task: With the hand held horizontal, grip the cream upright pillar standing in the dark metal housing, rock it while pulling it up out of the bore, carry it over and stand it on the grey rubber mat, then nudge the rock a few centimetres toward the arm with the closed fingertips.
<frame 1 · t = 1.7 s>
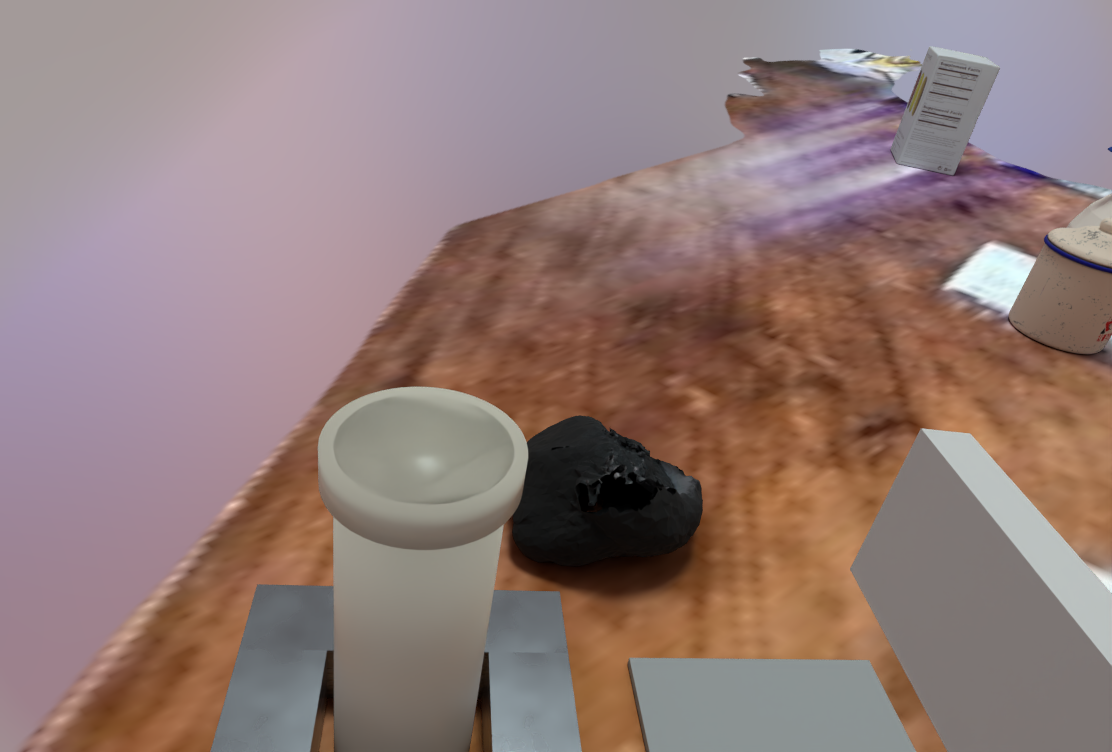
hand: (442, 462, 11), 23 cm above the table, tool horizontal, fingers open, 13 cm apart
rock: (585, 524, 44), on the table
supplement box: (920, 163, 129), on the table
teacup with lid: (1050, 328, 78), on the table
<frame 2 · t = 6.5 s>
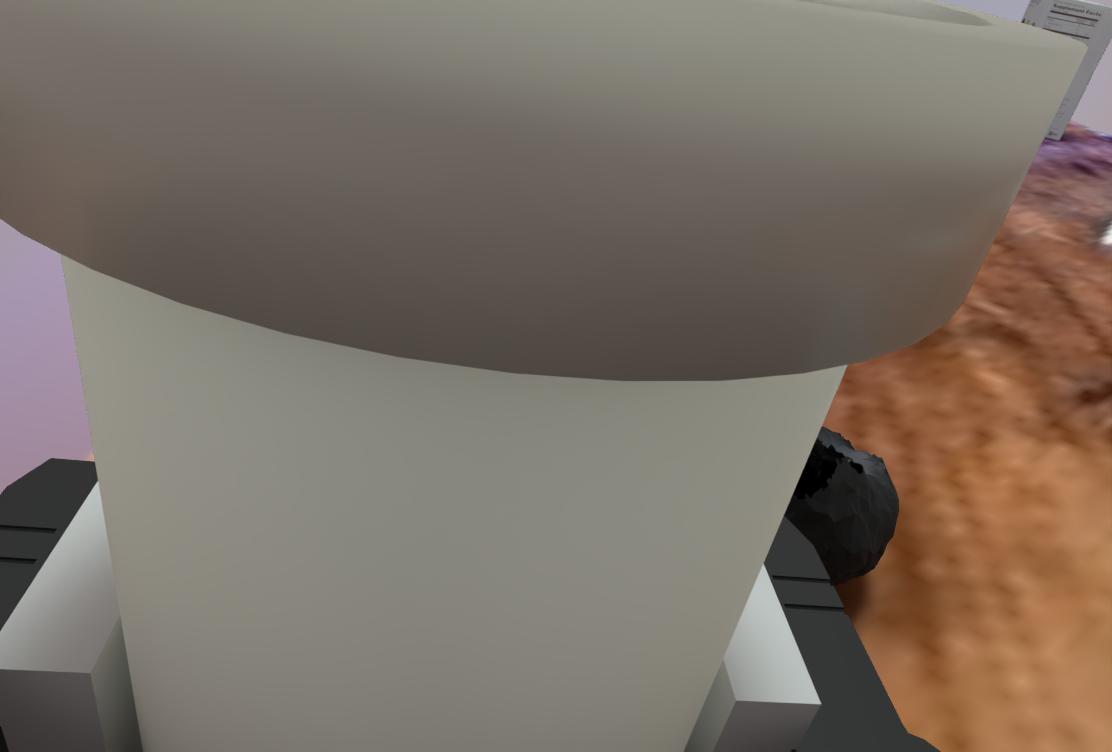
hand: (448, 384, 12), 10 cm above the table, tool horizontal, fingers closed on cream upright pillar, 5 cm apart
rock: (675, 527, 26), on the table
supplement box: (1017, 129, 112), on the table
when the fingers open (11 cm above the table, at t = 12.4 s): cream upright pillar drops 1 cm, resting on mat.
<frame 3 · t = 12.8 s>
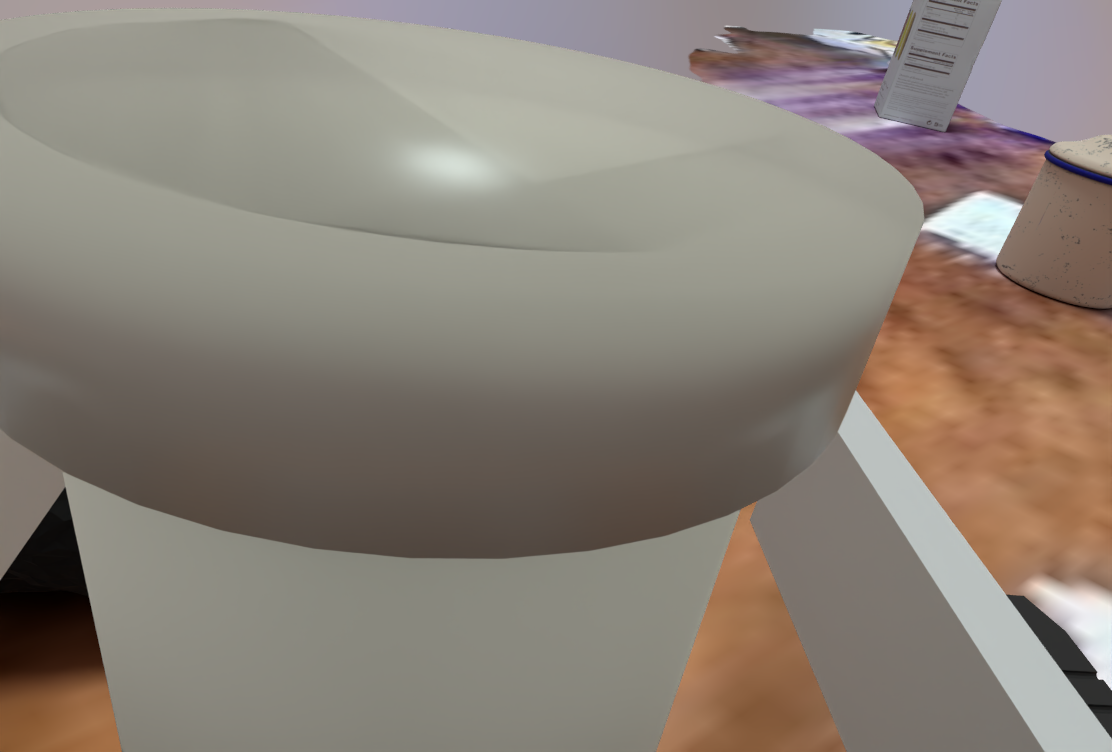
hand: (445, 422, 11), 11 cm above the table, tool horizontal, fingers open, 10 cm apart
rock: (87, 525, 23), on the table
supplement box: (907, 120, 111), on the table
teacup with lid: (1051, 280, 59), on the table
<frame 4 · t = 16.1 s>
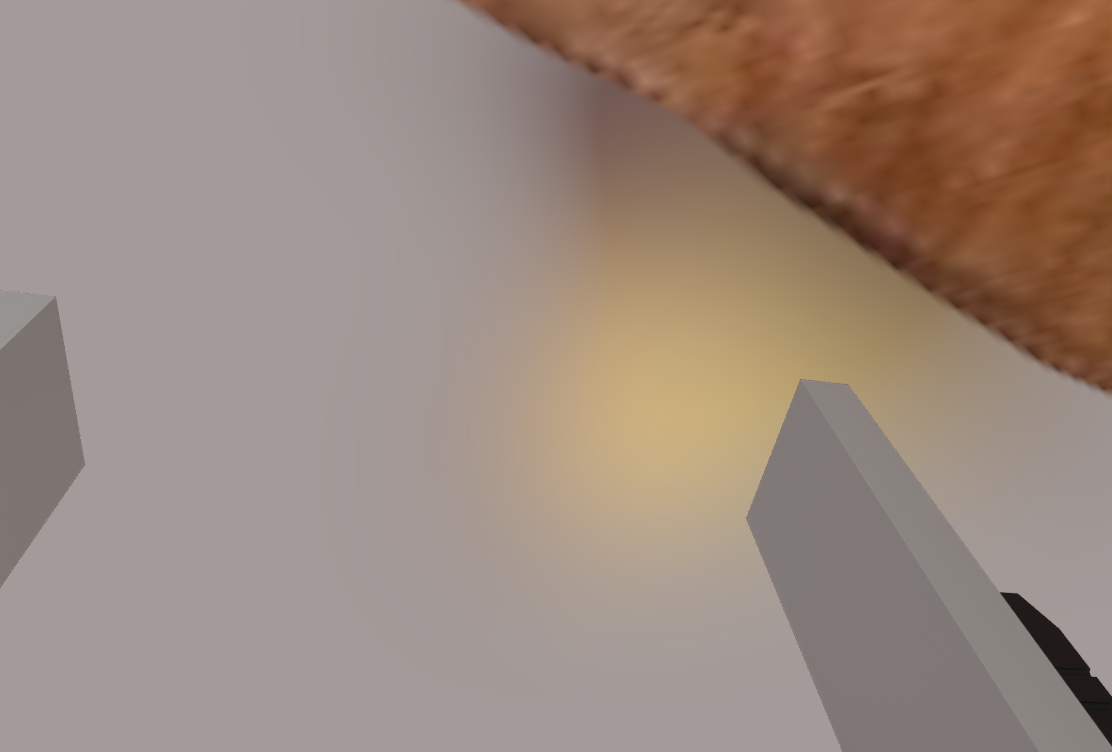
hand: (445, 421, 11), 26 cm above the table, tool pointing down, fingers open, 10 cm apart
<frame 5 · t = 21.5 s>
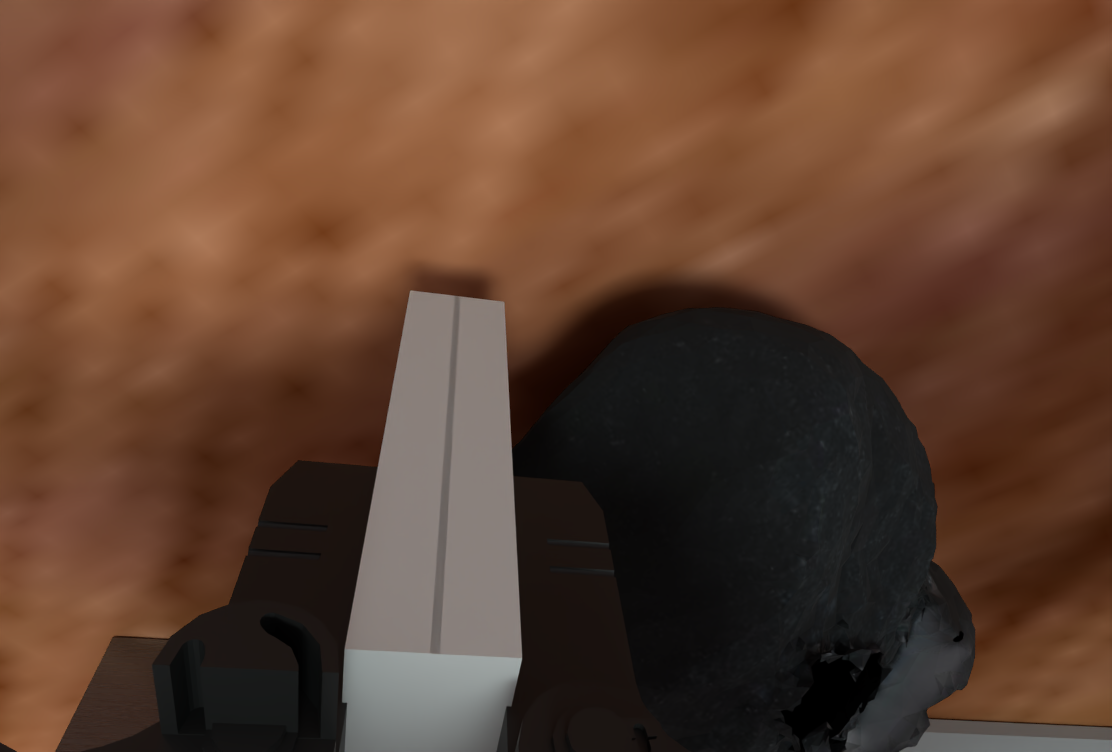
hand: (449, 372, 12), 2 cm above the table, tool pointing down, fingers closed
rock: (653, 503, 17), on the table, touching gripper, housing
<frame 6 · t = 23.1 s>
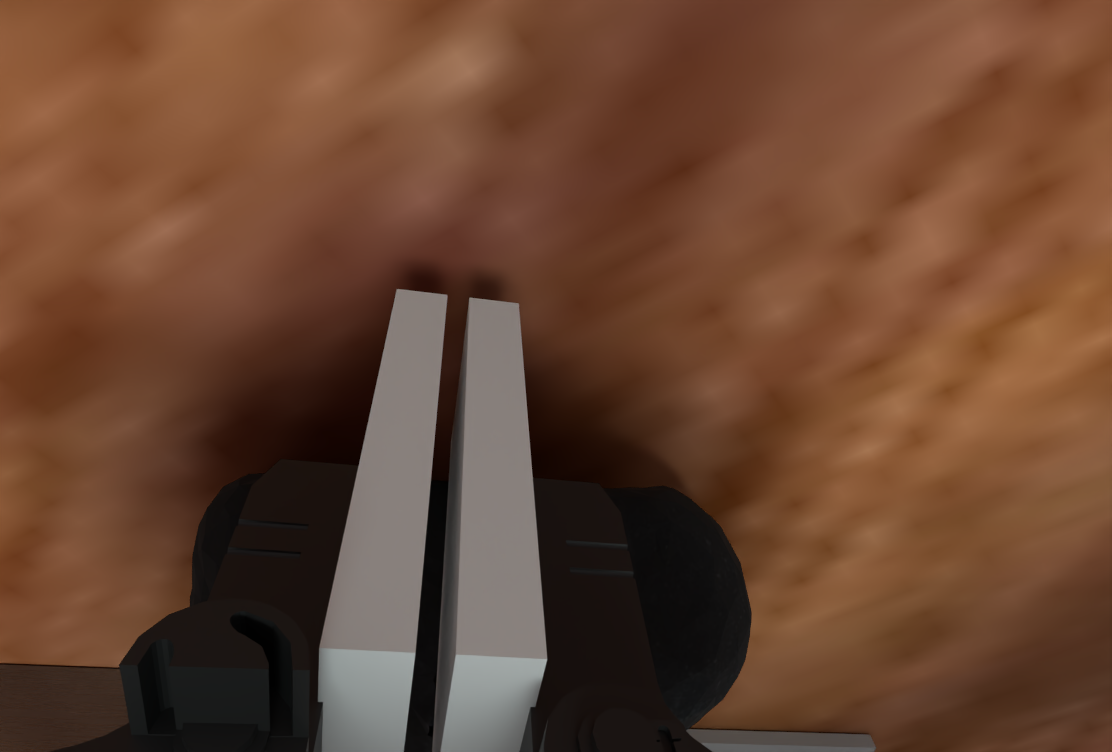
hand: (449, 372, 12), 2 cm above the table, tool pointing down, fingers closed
rock: (458, 569, 17), on the table, touching gripper, housing, mat
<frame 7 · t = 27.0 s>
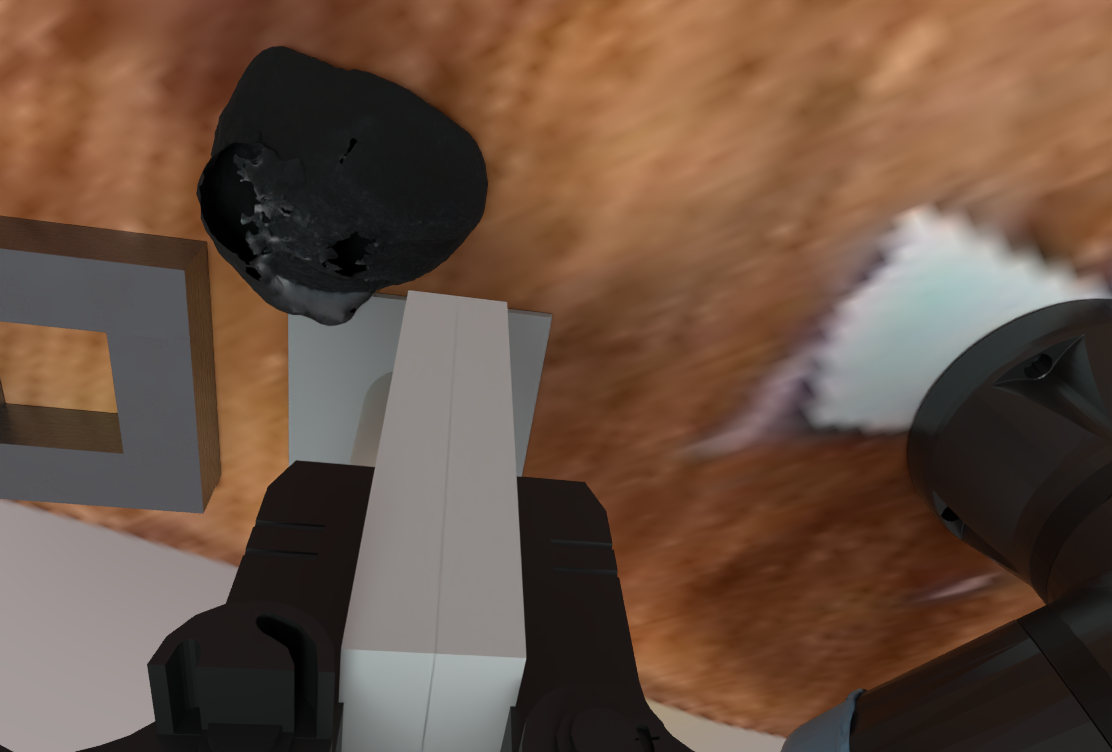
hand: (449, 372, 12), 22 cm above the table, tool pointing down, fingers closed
mat: (413, 405, 39), on the table
rock: (350, 165, 33), on the table, touching mat
housing: (67, 353, 36), on the table
cream upright pillar: (414, 411, 39), resting on mat
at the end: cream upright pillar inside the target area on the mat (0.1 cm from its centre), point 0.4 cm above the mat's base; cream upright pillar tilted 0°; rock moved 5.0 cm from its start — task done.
